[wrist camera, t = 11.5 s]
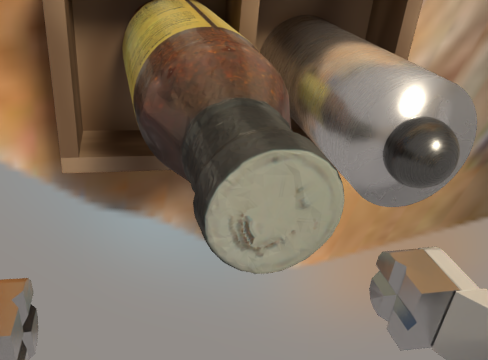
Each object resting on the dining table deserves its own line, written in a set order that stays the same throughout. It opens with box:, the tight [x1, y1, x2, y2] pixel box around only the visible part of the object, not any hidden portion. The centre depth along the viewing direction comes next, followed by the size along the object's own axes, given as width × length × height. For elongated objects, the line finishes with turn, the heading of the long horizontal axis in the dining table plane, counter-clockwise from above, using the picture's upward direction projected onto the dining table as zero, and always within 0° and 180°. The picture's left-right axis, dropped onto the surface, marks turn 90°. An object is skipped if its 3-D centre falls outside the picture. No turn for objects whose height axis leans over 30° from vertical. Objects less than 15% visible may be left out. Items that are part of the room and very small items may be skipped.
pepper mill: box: [260, 15, 477, 207], centre depth 24 cm, size 6×6×16 cm
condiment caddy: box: [42, 0, 423, 173], centre depth 29 cm, size 21×12×5 cm, turn 85°
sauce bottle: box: [122, 0, 344, 274], centre depth 20 cm, size 6×6×20 cm
